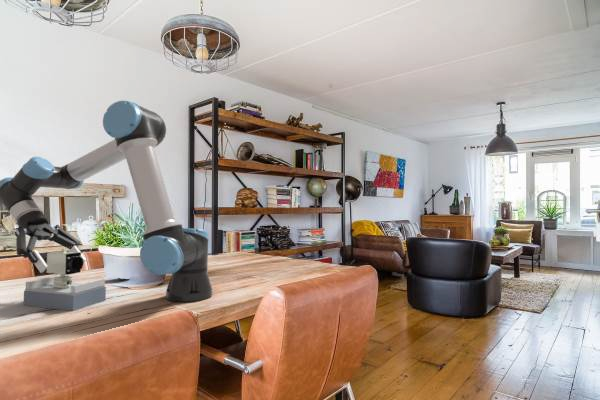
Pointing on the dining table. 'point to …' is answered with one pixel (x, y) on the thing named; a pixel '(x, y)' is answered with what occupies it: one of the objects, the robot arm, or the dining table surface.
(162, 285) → the dining table surface
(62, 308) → the grey piece
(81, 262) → the pneumatic valve
